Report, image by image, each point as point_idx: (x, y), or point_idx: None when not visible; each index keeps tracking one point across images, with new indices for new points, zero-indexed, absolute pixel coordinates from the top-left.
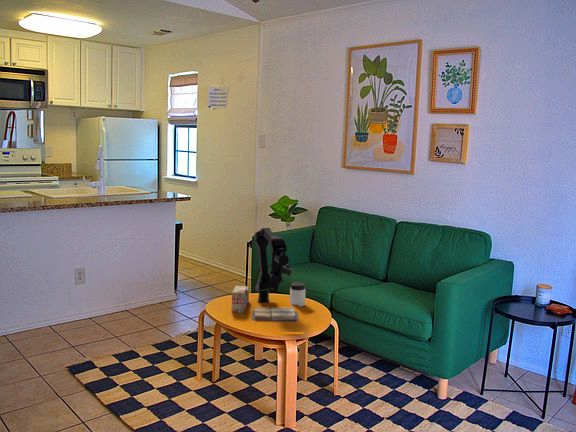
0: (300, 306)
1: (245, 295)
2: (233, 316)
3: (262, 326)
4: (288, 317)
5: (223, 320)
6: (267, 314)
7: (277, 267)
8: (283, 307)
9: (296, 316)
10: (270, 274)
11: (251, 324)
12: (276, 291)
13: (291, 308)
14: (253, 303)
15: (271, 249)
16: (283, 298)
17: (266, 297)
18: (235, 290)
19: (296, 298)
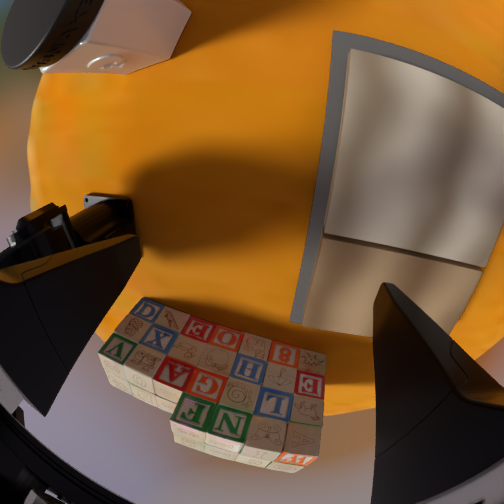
0: (185, 6)
1: (247, 407)
2: (337, 382)
3: (492, 299)
4: None
5: (370, 405)
6: (450, 284)
7: None
8: (342, 134)
9: (446, 74)
10: (39, 412)
11: (454, 337)
12: (397, 294)
13: (383, 75)
14: (148, 279)
15: None
16: (62, 118)
17: (111, 228)
18: (264, 464)
19: (152, 15)
